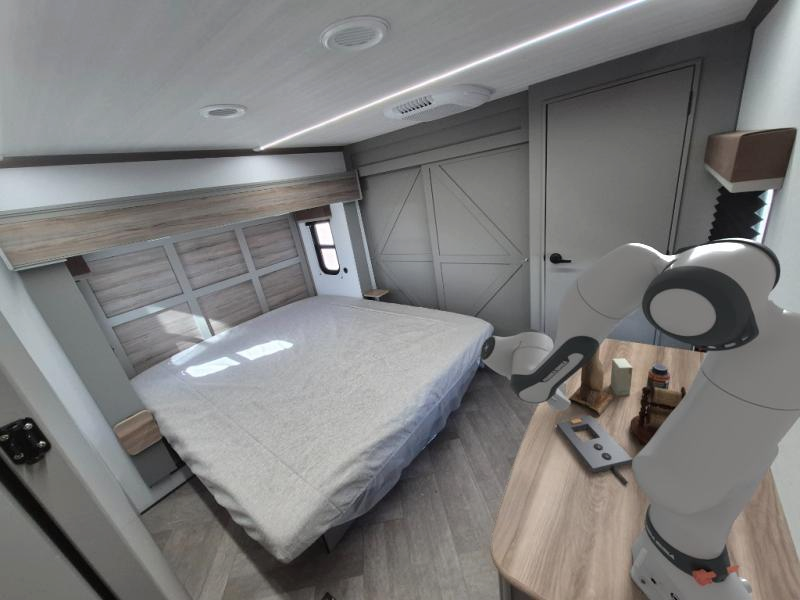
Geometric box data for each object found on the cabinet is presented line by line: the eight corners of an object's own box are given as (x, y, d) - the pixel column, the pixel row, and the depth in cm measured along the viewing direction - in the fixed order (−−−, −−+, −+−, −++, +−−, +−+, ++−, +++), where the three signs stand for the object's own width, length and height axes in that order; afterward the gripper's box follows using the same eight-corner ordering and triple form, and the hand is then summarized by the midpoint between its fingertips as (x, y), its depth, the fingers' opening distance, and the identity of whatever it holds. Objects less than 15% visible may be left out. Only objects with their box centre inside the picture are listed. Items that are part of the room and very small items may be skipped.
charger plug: (565, 409, 93) (566, 378, 89) (553, 411, 93) (554, 380, 88) (558, 401, 96) (559, 371, 92) (547, 404, 96) (547, 373, 92)
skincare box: (630, 395, 113) (633, 368, 108) (616, 395, 114) (619, 368, 109) (622, 384, 119) (625, 357, 114) (609, 384, 120) (612, 358, 115)
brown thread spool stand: (686, 427, 97) (698, 376, 90) (695, 465, 86) (709, 410, 79) (629, 415, 105) (635, 366, 98) (629, 447, 94) (637, 396, 87)
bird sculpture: (567, 403, 115) (569, 330, 102) (580, 386, 121) (584, 315, 109) (600, 418, 107) (607, 340, 94) (613, 398, 113) (621, 323, 100)
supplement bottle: (670, 397, 109) (676, 371, 105) (651, 398, 110) (656, 372, 106) (660, 386, 114) (664, 361, 110) (642, 387, 115) (646, 362, 111)
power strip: (646, 479, 85) (647, 472, 84) (605, 489, 85) (605, 482, 84) (589, 419, 106) (590, 413, 105) (556, 427, 106) (556, 421, 105)
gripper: (554, 387, 78) (589, 408, 82) (517, 346, 97) (547, 365, 101) (538, 404, 80) (572, 424, 84) (504, 361, 99) (534, 379, 103)
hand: (558, 392), depth 92 cm, fingers closed on charger plug, 3 cm apart
